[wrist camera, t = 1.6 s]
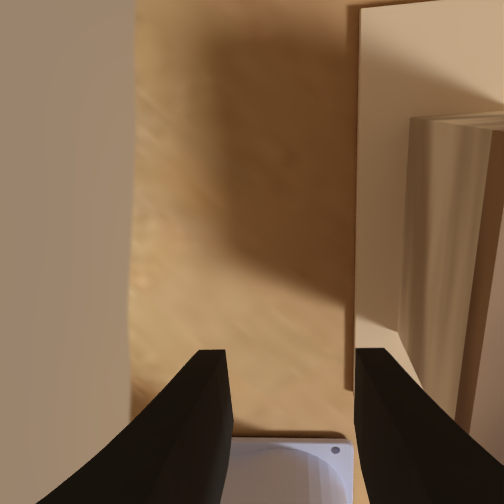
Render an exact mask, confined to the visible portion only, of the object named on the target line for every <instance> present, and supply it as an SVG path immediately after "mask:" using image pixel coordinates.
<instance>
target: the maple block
mask: <svg viewBox="0 0 504 504" xmlns="http://www.w3.org/2000/svg"><path fill="white" fill-rule="evenodd" d="M397 333H398V335H399V338H400V340H401V342H402V344H403V346H404V348H405V351H406V353H407V355H408V357H409V359H410V362H411V364H412V366H413V368H414V370H415V372H416V375H417V377H418V379H419V381H420V383H421V385H422V388H423V390H424V391H425V392H426V393H427V394H428V395H429V396H430V397H431V398H432V399H433V400H434V401H435V402H436V403H437V404H438V405H439V406H440V407H441V408H442V409H443V410H444V411H445V412H446V413H447V414H448V415H449V416H450V417H451V418H452V419H453V420H454V421H455V422H456V423H457V424H458V425H459V426H460V427H461V428H462V429H463V430H464V431H466V432H467V433H468V434H469V435H470V436H471V437H472V438H473V439H474V440H475V441H476V442H477V443H479V444H480V445H481V446H482V447H483V448H484V449H485V450H486V451H487V452H489V453H490V454H491V455H492V456H493V457H494V458H495V459H496V460H498V461H499V462H500V463H501V464H502V465H504V111H492V112H478V113H464V114H451V115H437V116H423V117H410V127H409V143H408V159H407V176H406V192H405V209H404V225H403V241H402V258H401V274H400V290H399V307H398V323H397Z"/></svg>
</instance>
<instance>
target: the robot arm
mask: <svg viewBox="0 0 504 504" xmlns="http://www.w3.org/2000/svg"><path fill="white" fill-rule="evenodd" d="M354 425H355V432H356V439H357V446H358V452H359V459H360V465H361V470H362V474H363V478H364V482H365V486H366V490H367V494H368V498H369V501H370V504H504V465H502V464H501V463H500V462H499V461H498V460H496V459H495V458H494V457H493V456H492V455H491V454H490V453H489V452H487V451H486V450H485V449H484V448H483V447H482V446H481V445H480V444H479V443H477V442H476V441H475V440H474V439H473V438H472V437H471V436H470V435H469V434H468V433H467V432H466V431H464V430H463V429H462V428H461V427H460V426H459V425H458V424H457V423H456V422H455V421H454V420H453V419H452V418H451V417H450V416H449V415H448V414H447V413H446V412H445V411H444V410H443V409H442V408H441V407H440V406H439V405H438V404H437V403H436V402H435V401H434V400H433V399H432V398H431V397H430V396H429V395H428V394H427V393H426V392H425V391H424V390H423V389H422V388H421V387H420V386H419V385H418V384H417V383H416V381H415V380H414V379H413V378H412V377H411V376H410V375H409V374H408V373H407V372H406V371H405V370H404V368H403V367H402V366H401V365H400V364H399V363H398V362H397V361H396V360H395V358H394V357H393V356H392V355H391V354H390V353H389V352H388V351H387V350H386V349H385V348H355V392H354ZM232 430H233V412H232V404H231V395H230V386H229V378H228V369H227V361H226V352H225V350H198V351H197V352H196V353H195V355H194V356H193V357H192V358H191V359H190V360H189V361H188V362H187V363H186V364H185V365H184V367H183V368H182V369H181V370H180V371H179V372H178V373H177V374H176V375H175V377H174V378H173V379H172V380H171V381H170V382H169V383H168V384H167V385H166V386H165V388H164V389H163V390H162V391H161V392H160V393H159V394H158V395H157V396H156V397H155V398H154V399H153V400H152V401H151V402H150V403H149V404H148V405H147V406H146V408H145V409H144V410H143V411H142V412H141V413H140V414H139V415H138V416H137V417H136V418H135V419H134V420H133V421H132V422H131V423H130V424H129V425H127V426H126V427H125V428H124V429H123V430H122V431H121V432H120V433H119V434H118V435H117V436H116V437H115V438H114V439H113V440H112V441H111V442H110V443H109V444H108V445H107V446H106V447H105V448H103V449H102V450H101V451H100V452H99V453H98V454H97V455H96V456H94V457H93V458H92V459H91V460H90V461H89V462H87V463H86V464H85V465H84V466H83V467H82V468H80V469H79V470H78V471H77V472H75V473H74V474H73V475H72V476H70V477H69V478H68V479H67V480H66V481H64V482H63V483H62V484H61V485H59V486H58V487H57V488H56V489H54V490H53V491H52V492H51V493H50V494H48V495H47V496H46V497H44V498H43V499H41V500H40V501H39V502H37V503H36V504H353V454H354V450H353V444H352V442H351V441H350V440H348V439H331V438H250V437H232ZM333 447H338V448H333Z"/></svg>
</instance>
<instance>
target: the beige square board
mask: <svg viewBox="0 0 504 504" xmlns="http://www.w3.org/2000/svg"><path fill="white" fill-rule="evenodd" d="M492 111H504V0H438V1H429V2H419V3H409V4H400V5H390V6H380V7H371V8H361V9H360V11H359V69H358V128H357V186H356V245H355V304H354V362H353V395H354V392H355V348H385V349H386V350H387V351H388V352H389V353H390V354H391V355H392V356H393V357H394V358H395V360H396V361H397V362H398V363H399V364H400V365H401V366H402V367H403V368H404V370H405V371H406V372H407V373H408V374H409V375H410V376H411V377H412V378H413V379H414V380H415V381H416V383H417V384H418V385H419V386H420V387H421V388H422V385H421V383H420V381H419V379H418V377H417V375H416V372H415V370H414V368H413V366H412V364H411V362H410V359H409V357H408V355H407V353H406V351H405V348H404V346H403V344H402V342H401V340H400V338H399V335H398V333H397V323H398V307H399V290H400V274H401V258H402V241H403V225H404V209H405V192H406V176H407V159H408V143H409V127H410V117H423V116H437V115H451V114H464V113H478V112H492ZM422 389H423V388H422Z"/></svg>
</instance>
